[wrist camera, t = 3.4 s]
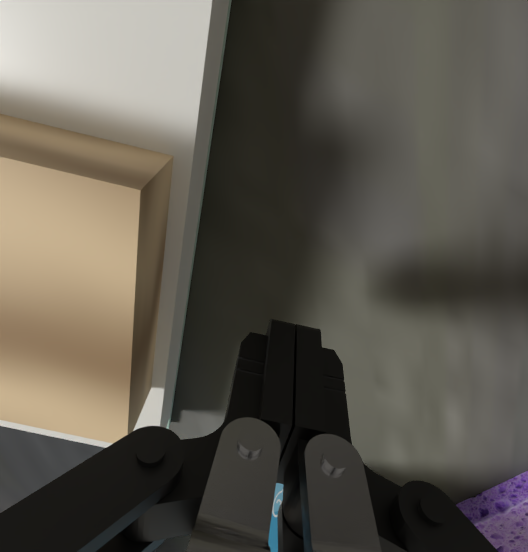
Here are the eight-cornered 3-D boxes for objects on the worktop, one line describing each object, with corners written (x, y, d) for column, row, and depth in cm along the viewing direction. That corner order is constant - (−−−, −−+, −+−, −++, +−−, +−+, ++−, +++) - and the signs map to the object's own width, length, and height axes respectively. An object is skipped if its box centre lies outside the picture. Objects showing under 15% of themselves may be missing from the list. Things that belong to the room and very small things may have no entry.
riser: (-96, -134, 9) (-193, -171, 8) (235, -45, 10) (219, -60, 8) (5, 381, 19) (-28, 419, 17) (169, 416, 20) (156, 458, 18)
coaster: (-102, 88, 10) (-210, 106, 8) (173, 156, 10) (140, 190, 8) (-35, 347, 15) (-91, 400, 13) (151, 387, 15) (126, 446, 13)
